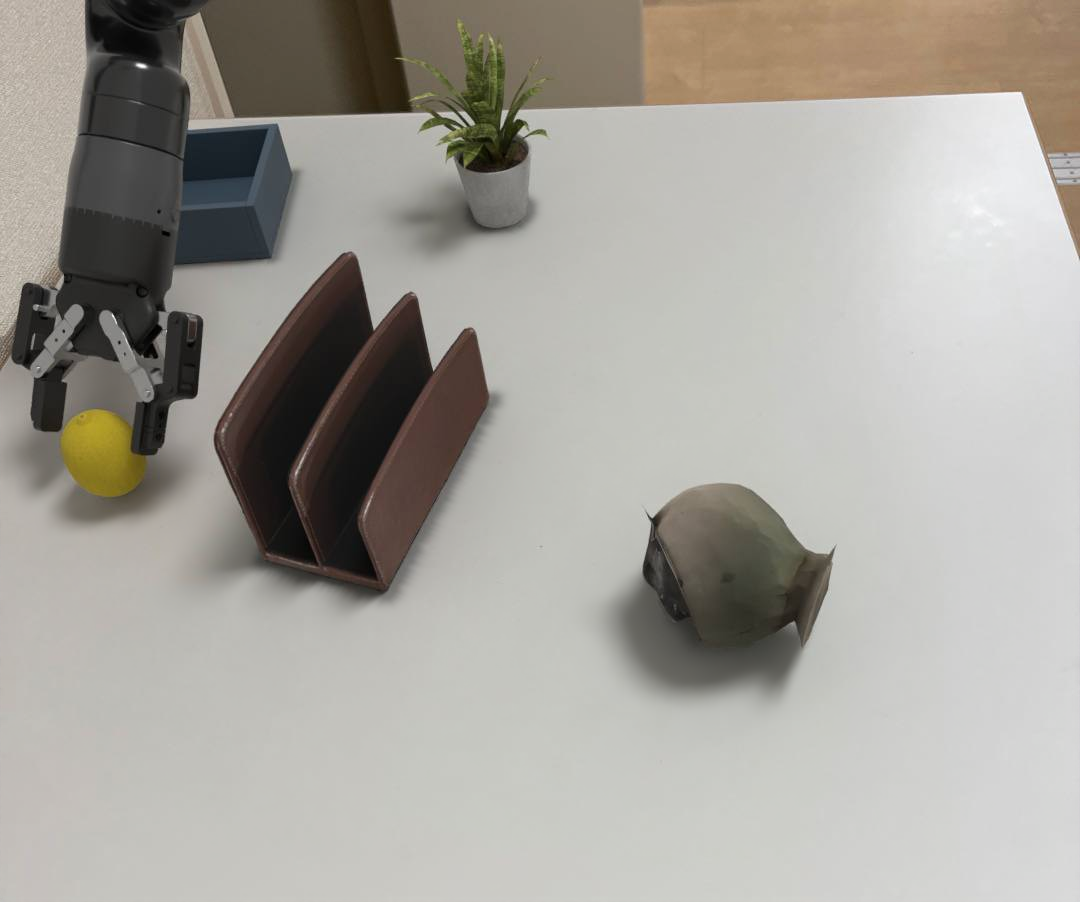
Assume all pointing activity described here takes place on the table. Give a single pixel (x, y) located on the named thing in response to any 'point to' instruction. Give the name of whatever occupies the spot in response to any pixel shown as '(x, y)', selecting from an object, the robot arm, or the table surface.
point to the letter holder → (347, 431)
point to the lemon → (101, 453)
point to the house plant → (487, 136)
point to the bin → (232, 193)
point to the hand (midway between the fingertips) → (95, 442)
